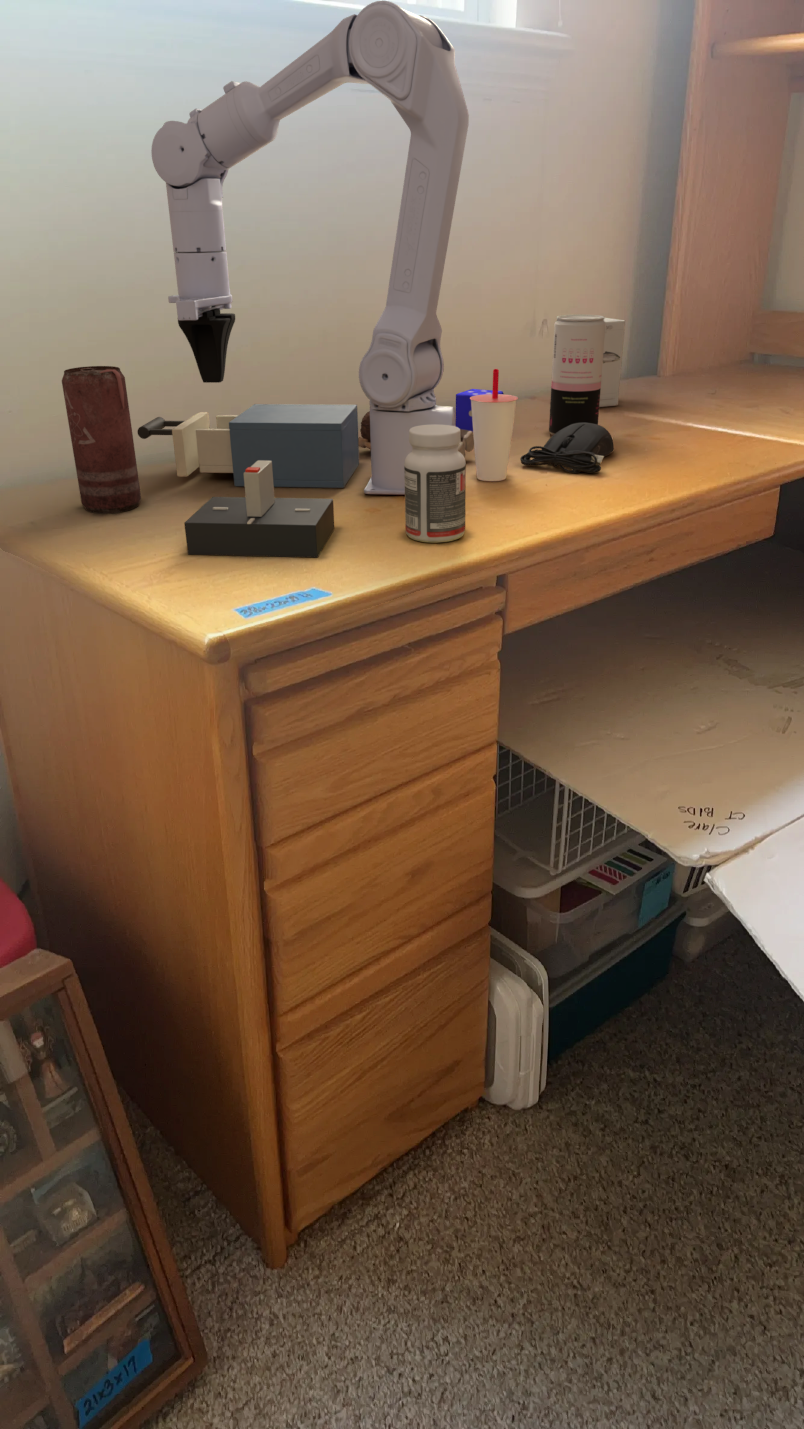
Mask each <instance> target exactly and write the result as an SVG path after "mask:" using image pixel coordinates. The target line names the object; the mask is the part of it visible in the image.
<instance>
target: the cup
mask: <svg viewBox="0 0 804 1429" xmlns="http://www.w3.org/2000/svg"><path fill="white" fill-rule="evenodd" d="M499 375H500V371H499V369H498V368H494V369H493V370H492V390H493V392H492V394H483V395H476V396H472V397H470V399H471V407H472V422H473V438H474V447H473V449H474V462H475V472H476V473H475V474H476V479H478V481H479V480H480V481H484V482H500V481H504V480H506V479H507V475H508V469H509V461H510V455H511V454H510V453H511V446H512V441H513V440H512V439H513V432H514V424H515V423H514V422H515V418H516V417H515V416H516V408H517V401H518V399H519V397H518V396H516V395H513V394H512V395H511V394H504V393H503V394H498V391H499V378H500V376H499Z"/></svg>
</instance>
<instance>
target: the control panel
mask: <svg viewBox="0 0 804 1429" xmlns="http://www.w3.org/2000/svg"><path fill="white" fill-rule="evenodd" d="M274 499H275V503H274V504H273V505H272V506H271V507H270V508H269V509H268V510H267V512H266V513H265V514H264V515H263V516H262V517H248V516H247V508H246V496H212V497H211V498H210V499H208V500H207V501H206V502H205V503H204V504H203V505H201V507H199V508H198V510H196V511H195V512H193V514H192V515H191V516H190V517H188V518H187V519H186V520H185V521H184V523H183V524H184V532H185V541H186V549H187V550H186V551H187V555H189V556H190V555H191V556H193V555H194V556H229V557H231V556H232V557H233V556H234V557H273V558H276V557H277V558H318V557H319V555H321V552H322V550H323V549H324V547H325V546H326V544H327V542H328V541H329V539H330V537H331V535H332V533H333V532H334V531H335V511H334V510H335V509H334V508H335V507H334V498H319V497H318V498H317V497H316V498H314V497H313V498H312V497H309V498H307V497H274Z"/></svg>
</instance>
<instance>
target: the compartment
mask: <svg viewBox="0 0 804 1429" xmlns="http://www.w3.org/2000/svg"><path fill="white" fill-rule="evenodd" d="M358 413H359V412H358V404H326V403H325V404H324V403H323V404H317V403H313V404H311V403H310V404H309V403H308V404H307V403H306V404H305V403H301V404H299V403H297V404H296V403H254V404H252V405H251V406H250V407H248V408H247V409H245V410H244V411H242V412H241V413H239V414H238V415H239V416H237V417H236V418H234V419H233V420H232V421H230V422H229V432H230V443H231V453H232V464H233V473H232V475H233V484H234V485H233V486H234V487H245V485H244V472H245V470H246V469H247V468H248V467H251V466H252V465H253V464H254V463H255V462H257V461H258V460H264V461H272V471H273V485H274V488H311V489H313V488H315V489H316V488H318V489H319V488H322V489H323V488H324V489H344V488H345V486H346V485H347V483H348V482H349V481H350V479H351V478H352V476H353V474H354V473H355V471H356V470H357V468H358V466H359V465H360V447H359V442H358V438H359V416H358Z"/></svg>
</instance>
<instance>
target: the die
mask: <svg viewBox="0 0 804 1429" xmlns="http://www.w3.org/2000/svg"><path fill="white" fill-rule="evenodd" d="M492 392H493V389H480V388H469V389H467V390H463V391H460V392H458V393H456V394H455V427H458V428H459V429H464V430H469V431H473V422H472V407H471V399H470V397H472V396H476V395H483V394H492ZM498 394H504V391H503V390H498Z"/></svg>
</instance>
